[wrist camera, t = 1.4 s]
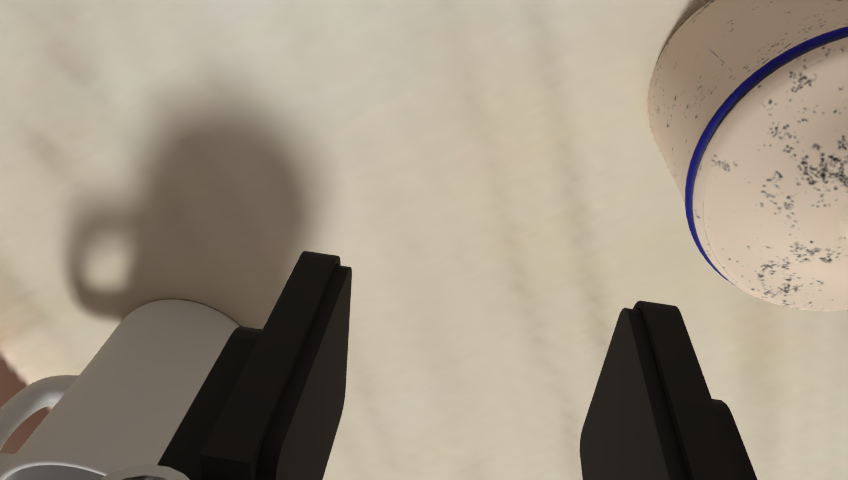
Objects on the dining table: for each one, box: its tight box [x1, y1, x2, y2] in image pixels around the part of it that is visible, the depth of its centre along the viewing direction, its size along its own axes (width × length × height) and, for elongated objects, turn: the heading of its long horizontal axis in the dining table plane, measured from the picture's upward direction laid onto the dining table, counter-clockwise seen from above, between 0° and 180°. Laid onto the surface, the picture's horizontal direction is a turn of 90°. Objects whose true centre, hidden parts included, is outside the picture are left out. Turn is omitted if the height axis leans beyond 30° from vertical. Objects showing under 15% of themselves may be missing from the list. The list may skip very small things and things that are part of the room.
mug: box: [0, 299, 239, 480], centre depth 33 cm, size 12×8×11 cm
